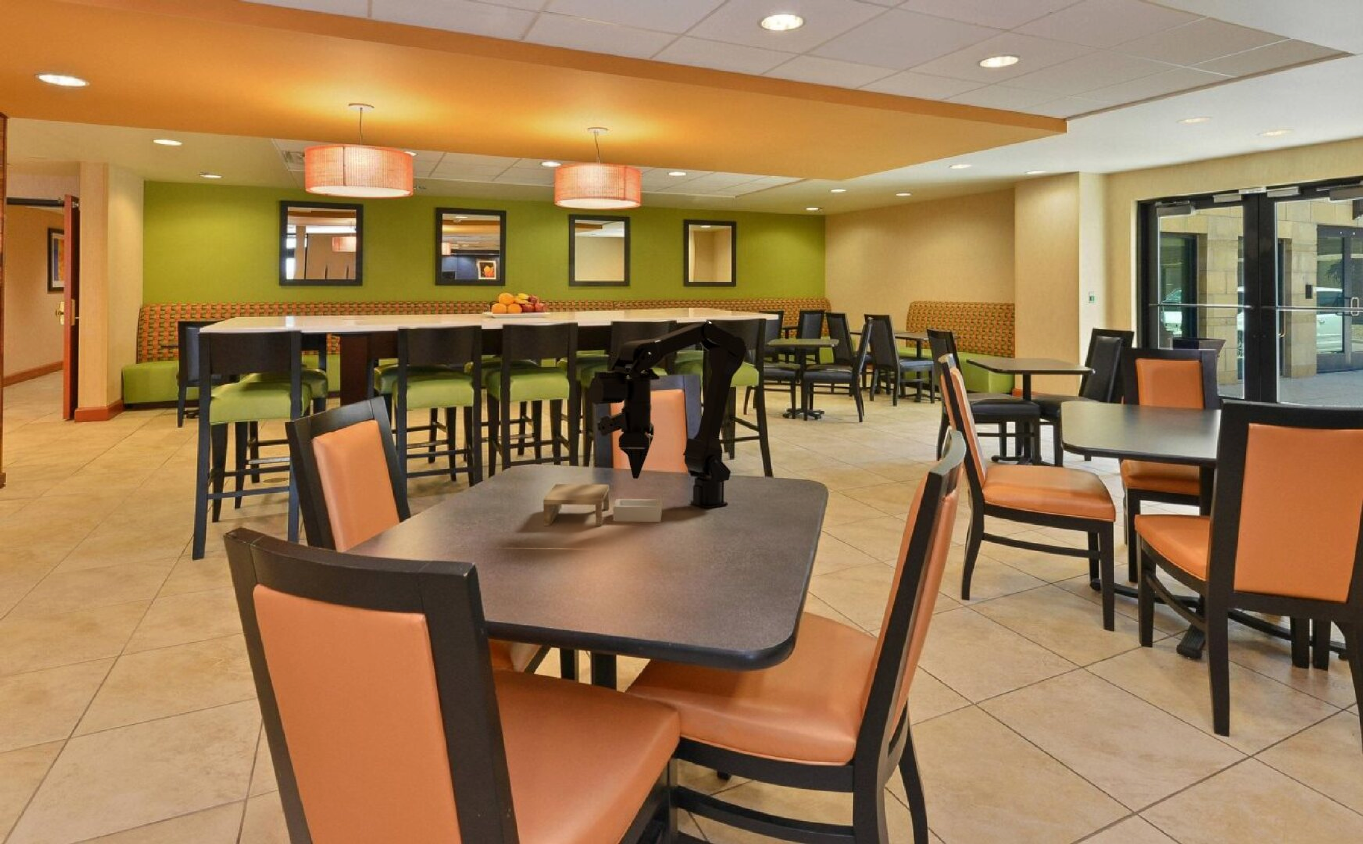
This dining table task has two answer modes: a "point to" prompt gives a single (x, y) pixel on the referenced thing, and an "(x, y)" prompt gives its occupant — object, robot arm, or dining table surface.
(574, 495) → the oak shelf
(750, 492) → the dining table surface
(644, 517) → the beige tray
